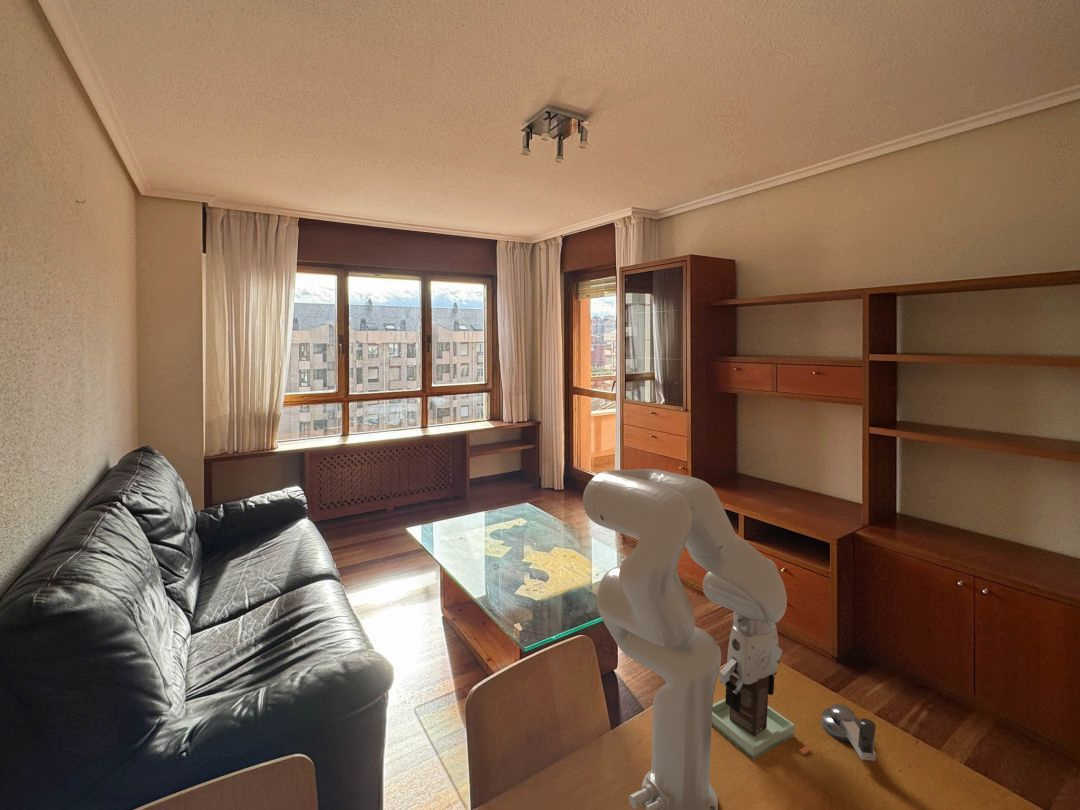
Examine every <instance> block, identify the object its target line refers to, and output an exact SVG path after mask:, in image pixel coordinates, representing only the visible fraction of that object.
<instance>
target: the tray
mask: <svg viewBox="0 0 1080 810" xmlns="http://www.w3.org/2000/svg"><path fill="white" fill-rule="evenodd" d="M725 699H726V697H725V698H723V699H720V700H719V701H717V702H715V703H714V702H713V708H712V727H713V728H714V729H716V731H717V732H718V733H720V734H721V735H723V736H724V737H725V738H726V739H727V740H729V741H730V742H731V743H732V744H733V745H734V746H735V747H737V748H738V750H740V751H741V752H743V753H744V754H745V755H746V756H748V757H749V759H751V760H752V761H754V760H755V759H757V758H758V757H761V756H762V755H764V754H766V753H767V752H770V751H771V750H773V749H774V748H776V747H778V746H779V745H781V744H782V743H783V744H784V742H786V741H788V740H790V739H792V738H793V737H794V736H795V724H794V723H793V722H792V721H790V720H789V719H788V718H786V717H785V716H783V715H782V714H780V713H779V712H778V711H776V710H775V709H773V708H772V707H770V706H769V705H768V708H767V728H766V729H764V730H763V731H762V732H761V733H759V734H758V735H757V736H753V735H752V734H751V733H749V732H748V731H746V730H745V729H743V728H742V727H740V726H739V725H737V724H736V723H734V722H733V721H731V720H730V706H729V705H727V704H726V702H725Z"/></svg>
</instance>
